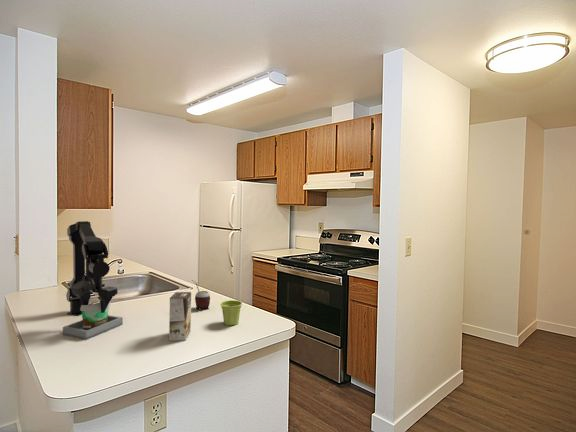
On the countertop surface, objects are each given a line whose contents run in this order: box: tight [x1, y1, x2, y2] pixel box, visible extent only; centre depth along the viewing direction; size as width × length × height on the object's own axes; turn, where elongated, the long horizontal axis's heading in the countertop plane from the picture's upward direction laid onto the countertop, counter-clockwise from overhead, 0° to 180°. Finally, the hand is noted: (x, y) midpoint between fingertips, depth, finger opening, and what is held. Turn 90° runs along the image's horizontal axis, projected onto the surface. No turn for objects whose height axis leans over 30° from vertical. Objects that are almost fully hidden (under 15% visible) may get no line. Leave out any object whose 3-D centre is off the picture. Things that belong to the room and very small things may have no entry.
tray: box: [62, 314, 124, 341], centre depth 139 cm, size 12×17×3 cm
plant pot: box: [219, 299, 243, 326], centre depth 149 cm, size 9×9×9 cm
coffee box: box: [168, 291, 192, 342], centre depth 134 cm, size 9×6×16 cm
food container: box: [80, 300, 111, 330], centre depth 140 cm, size 12×6×10 cm, turn 162°
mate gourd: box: [191, 279, 211, 312], centre depth 167 cm, size 8×8×15 cm
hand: (94, 311), depth 138 cm, fingers open, 9 cm apart
